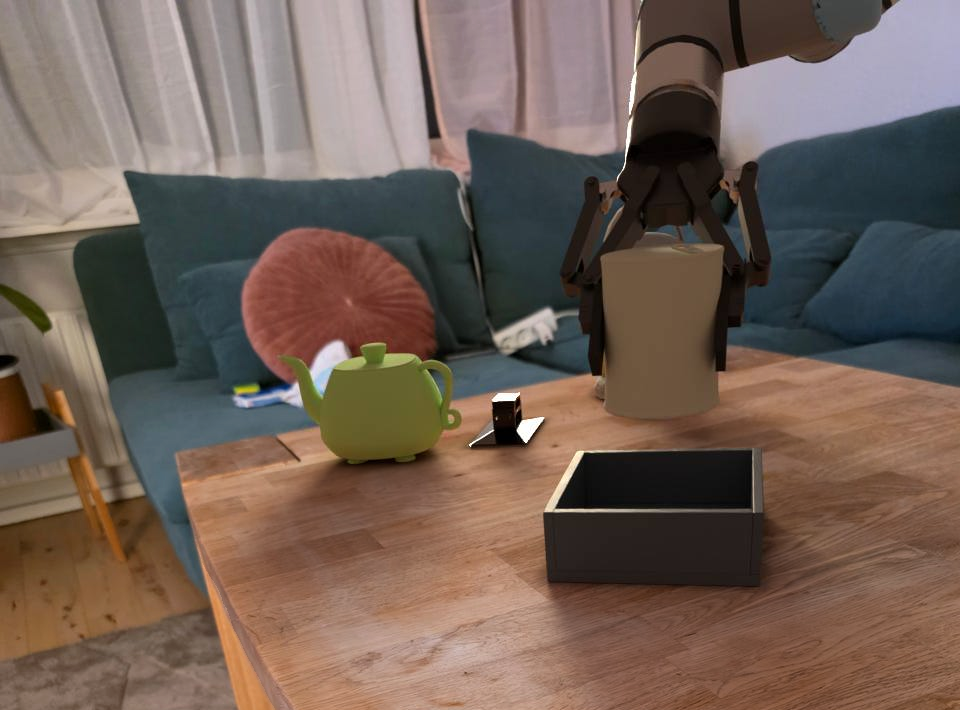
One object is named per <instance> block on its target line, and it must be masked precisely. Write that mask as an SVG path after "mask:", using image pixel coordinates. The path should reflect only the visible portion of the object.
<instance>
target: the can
mask: <svg viewBox="0 0 960 710" xmlns="http://www.w3.org/2000/svg"><path fill="white" fill-rule="evenodd" d="M723 252H724V246H722V245H718V244H703V243H685V244H673V245H660V246H649V247H640V248H632V249H626V250H620V251H615V252H610V253H607V254H604V255H602V256H601V258H600V260H601V267H602V288H603V314H604V352H605V399H604V402H603V409H604V411H605V412H606V413H608V414H610V415H611V416H616V417H619V418H622V419H623V418H625V419H633V420H644V421H645V420H646V421H647V420H648V421H651V420H652V421H653V420H672V419H681V418H687V417H694V416H697V415H701V414H704V413H707V412H709V411H712V410H714V409H715V408H717V407H718V406H719V404H720V402H721V397H720V394H719V393H720V392H719V372H715V348H716V330H717V311H718V299H719V296H720V291H721V283H722V264H723Z"/></svg>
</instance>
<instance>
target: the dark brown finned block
mask: <svg viewBox="0 0 960 710" xmlns="http://www.w3.org/2000/svg"><path fill="white" fill-rule="evenodd" d="M522 407H523V406H522V400H521V393H520V392H518V393H498V394H497V395H496V396H495V397H494V398H493V399H492V400H491V415H492V419H491V421H490V422H489V423H488V424H487V425H486V426H485V428H484V429H482V431H481V432H480V433H478V435H477V436H476V437H475V439H474V440H473V441H472V442H471V443H470V444H469V446H470V448H490V447H492V448H493V447H497V448H498V447H526V446H527V445H528V443H529V442H530V441H531V439H532V438H533V436H534V435H535V433H536V432H537V431H538V429H539V428H540V426H541V425H542V424H543V422H544V421H545V416H526V417H523V408H522Z"/></svg>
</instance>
